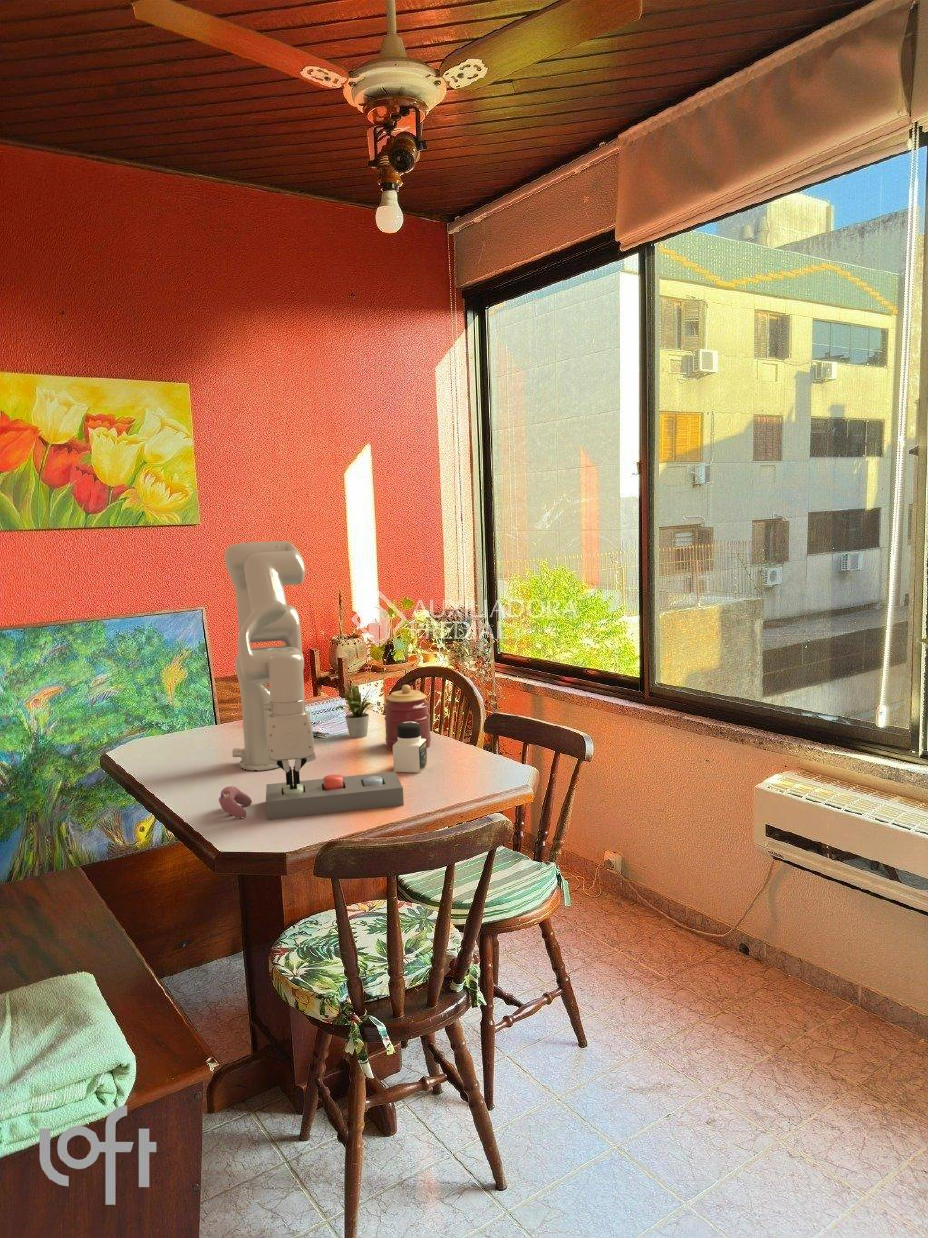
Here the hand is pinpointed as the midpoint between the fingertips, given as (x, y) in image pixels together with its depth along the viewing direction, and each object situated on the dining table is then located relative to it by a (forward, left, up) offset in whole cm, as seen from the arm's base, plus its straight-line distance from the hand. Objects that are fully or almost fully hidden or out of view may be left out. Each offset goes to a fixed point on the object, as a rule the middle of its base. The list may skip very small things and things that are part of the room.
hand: (293, 787), depth 191 cm
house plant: (-9, +64, -5) cm, 65 cm away
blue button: (+16, +8, -3) cm, 18 cm away
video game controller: (-12, -4, -5) cm, 14 cm away
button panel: (+8, +4, -5) cm, 10 cm away
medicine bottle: (+18, +32, -5) cm, 37 cm away
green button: (0, 0, -3) cm, 3 cm away
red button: (+8, +4, -2) cm, 9 cm away
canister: (+11, +54, -5) cm, 55 cm away
